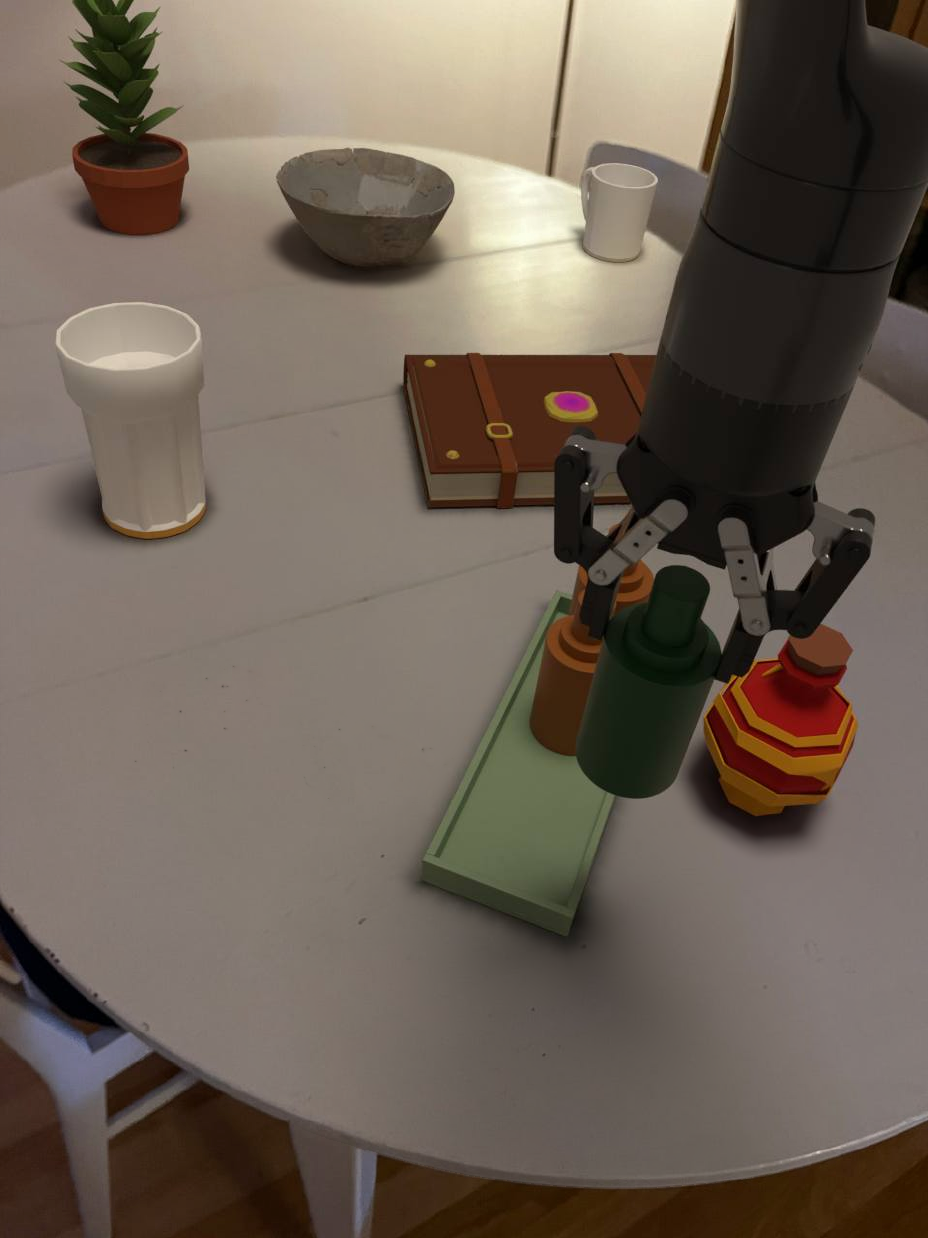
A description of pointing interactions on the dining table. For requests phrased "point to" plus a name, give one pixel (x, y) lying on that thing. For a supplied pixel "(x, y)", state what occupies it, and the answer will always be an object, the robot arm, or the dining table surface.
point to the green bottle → (649, 688)
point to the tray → (521, 813)
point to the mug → (616, 210)
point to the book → (516, 421)
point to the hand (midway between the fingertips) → (661, 648)
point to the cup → (139, 412)
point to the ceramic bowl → (366, 203)
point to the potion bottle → (784, 726)
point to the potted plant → (125, 125)
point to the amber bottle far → (621, 585)
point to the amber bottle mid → (564, 682)
